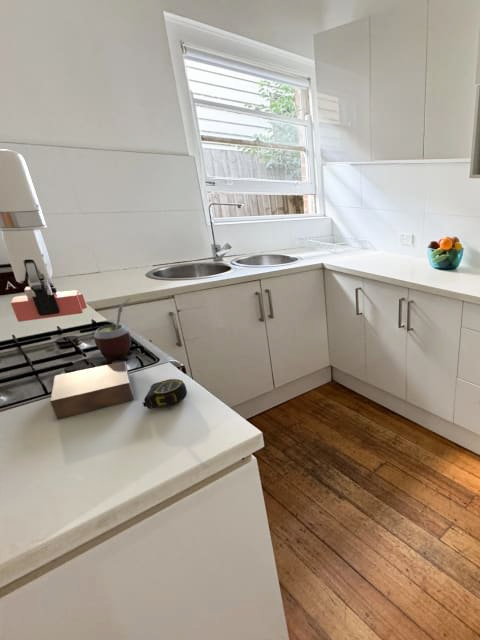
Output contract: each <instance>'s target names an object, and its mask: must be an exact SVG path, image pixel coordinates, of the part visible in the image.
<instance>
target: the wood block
mask: <svg viewBox="0 0 480 640" xmlns="http://www.w3.org/2000/svg"><path fill="white" fill-rule="evenodd" d="M134 400H135V397H134V391H133V387H132V380H131V376H130V372H129V369H128V366H127V362H126V360H122V361H120V362H119V361H118V362H114V363H108V364H105V365H99V366H95V367H89V368H85V369H80V370H75V371H71V372H65V373H61V374H56V375H54V377H53V384H52V389H51V394H50V400H49V403H50V405H51V408H52V410H53V412H54V414H55V416H56V419H57V420H59V419H63V418H68V417H71V416H75V415H78V414H83V413H87V412H91V411H94V410H99V409H101V408H102V409H103V408H107V407H110V406H115V405H117V404H118V405H119V404H122V403H126V402H130V401H134Z"/></svg>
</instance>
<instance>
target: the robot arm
mask: <svg viewBox="0 0 480 640" xmlns="http://www.w3.org/2000/svg"><path fill="white" fill-rule="evenodd" d="M41 207H42V206H41V205H40V202H39V198H38V196H37V192H36V189H35V186H34V184H33V181H32V177H31V175H30V171H29V169H28V166H27V163H26V161H25V158H24V157H23V156H22V154H20V153H19V152H17V151H16V150H11V149H2V148H0V232H1V237H2V241H3V245H4V248H5V252H6V254H7V257H8V260H9V263H10V266H11V269H12V272H13V275H14V278H15V281H16V282H17V283H19V284H23V283H24V281H26V280H27V284H28V287H29V286H30V290H31V293H32V298H33V300H34V303H35V306H36V308H37V311H38V314H39V315H40V316H44V315H51V314H58V313H60V310H59V307H58V305H57V302H56V299H55V296H54V294H52V293H54V292H58V290H57V288H56V287H55V286H54V283H53V280H52V276H53V265H52V262H51V259H50V255H49V252H48V249H47V245H46V243H45V240H44V237H43V234H42V231H41V230H43V229H47V228H48V225H47V222H46V219H45V215H44V214H43V210H42V208H41ZM44 285H45V286H44ZM49 285H50V287H49ZM50 288H51V290H50ZM51 291H52V293H51Z"/></svg>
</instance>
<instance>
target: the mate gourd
mask: <svg viewBox="0 0 480 640" xmlns="http://www.w3.org/2000/svg"><path fill="white" fill-rule="evenodd" d="M130 300H131V297H129V298H128V299H126V300H125V301H123V302H122V303H121V304H120V305H119V306H118V309H117V317H116V324H108V325H104V326H103V325H102V326H100V327H99V328H97V329H96V330H95V332H94V334H93V339H94V344H95V345H96V347H97V348H98V350H99V352H100V354H101V355H102V357H103V358H104V359H105V360H104V363H106V364H110V363H111V362H114V361H116V360H122V361H129V359H130V358H129V357H128V356H129V355H131V354H133V352H132V350H131V349H130V348H131V345H132V336H131V333H130V331H129V329H128V328H126V327H125V326H124V325H122V324H120V321H121V316H122V312H123V308H124V306H125V305H126V304H127V303H128V302H129V301H130Z"/></svg>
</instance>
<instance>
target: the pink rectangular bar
mask: <svg viewBox="0 0 480 640" xmlns="http://www.w3.org/2000/svg"><path fill="white" fill-rule="evenodd" d="M44 286H45V285H44ZM49 287H50V285H49ZM23 290H24V293H25V295H18V296H13V298H12V300H11V301H10V305H11V308H12V310H13V312H14V315H15V317H16V320H17V322H18V323H21V322H27V321H36V320H42V319H49V318H57V317H64V316H73V315H79V314H84V313H83V312H84V311H83V310H84V309H87V308H88V306H87V304H86V301H85V297H84V294H83V293H79V291H78V290H77V289H74V290H65V291H64V290H63V291H57V292H54V293H52V291H51V293H52V294H54V296H55V299H56V302H57V305H58V307H59V310H60V313H58V314H51V315H44V316H40V315H39V314H38V311H37V308H36V306H35V303H34V300H33V298H32V293H31V290H30V286H29V285H28V286H25V288H24V289H23ZM50 290H51V288H50Z"/></svg>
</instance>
